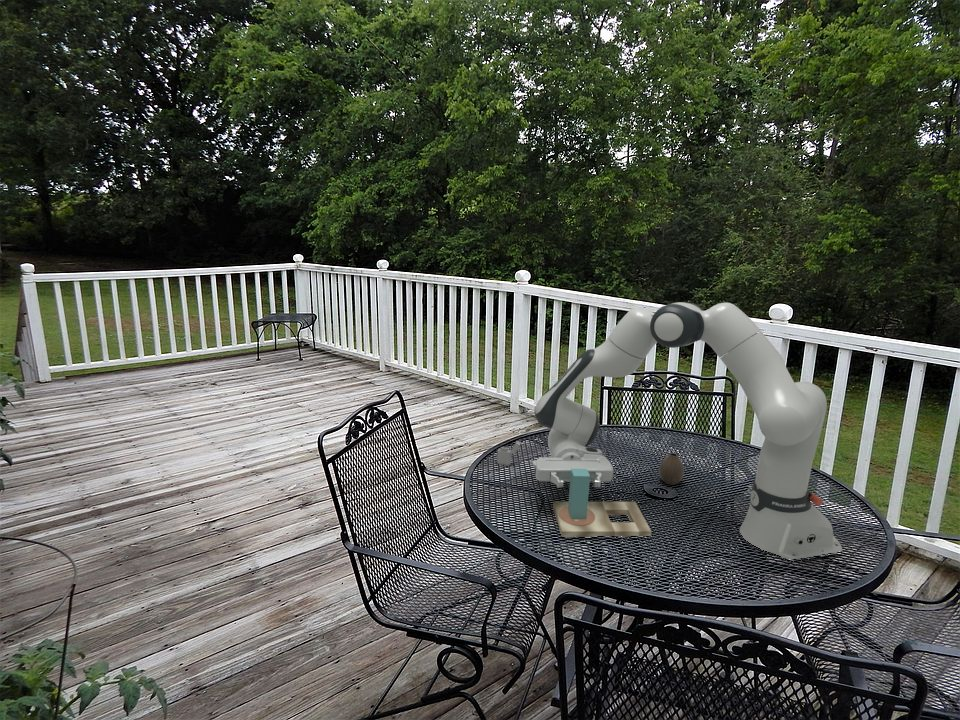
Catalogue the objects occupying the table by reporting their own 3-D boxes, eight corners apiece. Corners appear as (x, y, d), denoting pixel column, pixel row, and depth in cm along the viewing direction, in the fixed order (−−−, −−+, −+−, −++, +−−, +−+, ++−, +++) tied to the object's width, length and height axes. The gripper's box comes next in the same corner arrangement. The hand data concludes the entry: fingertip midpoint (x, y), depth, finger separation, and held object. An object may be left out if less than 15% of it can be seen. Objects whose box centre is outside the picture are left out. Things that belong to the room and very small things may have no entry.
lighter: (496, 463, 178) (497, 439, 175) (498, 460, 179) (499, 437, 177) (519, 466, 176) (519, 443, 173) (520, 464, 177) (521, 440, 175)
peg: (583, 510, 148) (586, 468, 144) (586, 519, 144) (589, 476, 140) (568, 510, 148) (571, 468, 144) (570, 518, 144) (573, 476, 140)
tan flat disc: (590, 506, 150) (590, 505, 150) (598, 525, 142) (598, 524, 141) (556, 506, 150) (556, 505, 150) (562, 525, 141) (562, 524, 141)
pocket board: (634, 508, 153) (635, 501, 153) (650, 538, 140) (651, 531, 139) (553, 508, 153) (553, 501, 152) (561, 538, 139) (562, 531, 139)
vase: (677, 489, 164) (681, 462, 161) (654, 482, 168) (657, 455, 165) (685, 480, 169) (689, 453, 166) (662, 473, 173) (666, 447, 170)
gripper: (532, 449, 155) (538, 473, 142) (606, 449, 156) (619, 473, 143) (531, 470, 157) (537, 495, 144) (604, 470, 158) (617, 496, 144)
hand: (579, 484), depth 143 cm, fingers open, 8 cm apart
